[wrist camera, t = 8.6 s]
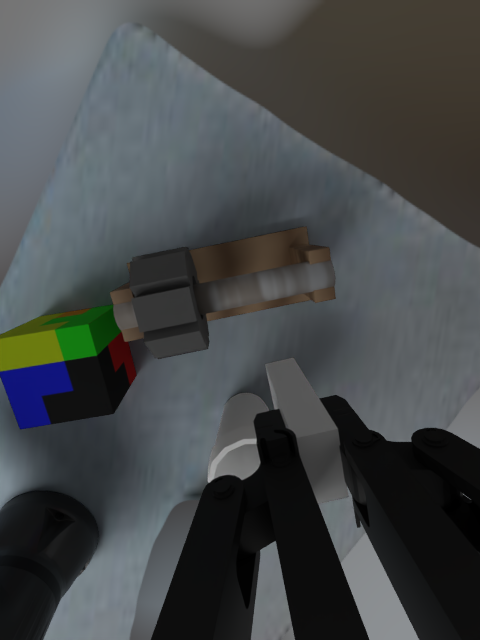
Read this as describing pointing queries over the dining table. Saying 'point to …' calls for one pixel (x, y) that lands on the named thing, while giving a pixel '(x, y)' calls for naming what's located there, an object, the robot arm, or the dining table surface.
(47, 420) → the puzzle toy
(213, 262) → the pipe rig
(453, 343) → the dining table surface
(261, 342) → the dining table surface
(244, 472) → the foam cup
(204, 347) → the dark gray notched block
